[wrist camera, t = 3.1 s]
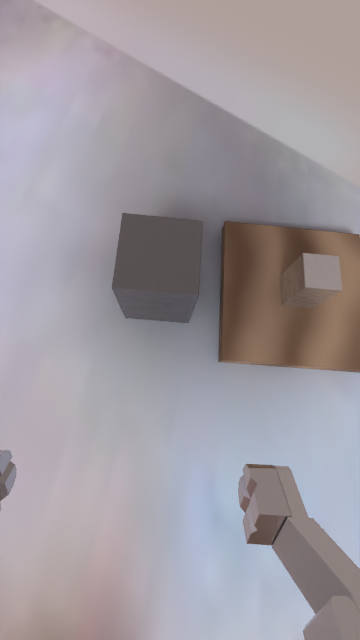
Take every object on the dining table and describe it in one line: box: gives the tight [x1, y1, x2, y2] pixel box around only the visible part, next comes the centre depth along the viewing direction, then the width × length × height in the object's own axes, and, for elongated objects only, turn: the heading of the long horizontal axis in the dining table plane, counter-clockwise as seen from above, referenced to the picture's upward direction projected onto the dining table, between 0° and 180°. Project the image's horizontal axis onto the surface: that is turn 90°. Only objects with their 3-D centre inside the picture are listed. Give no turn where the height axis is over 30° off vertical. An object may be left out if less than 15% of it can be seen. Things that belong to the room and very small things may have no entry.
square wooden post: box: [280, 253, 342, 308], centre depth 24 cm, size 3×3×4 cm
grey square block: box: [112, 213, 202, 323], centre depth 24 cm, size 6×6×8 cm
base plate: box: [218, 221, 360, 372], centre depth 27 cm, size 14×14×2 cm
